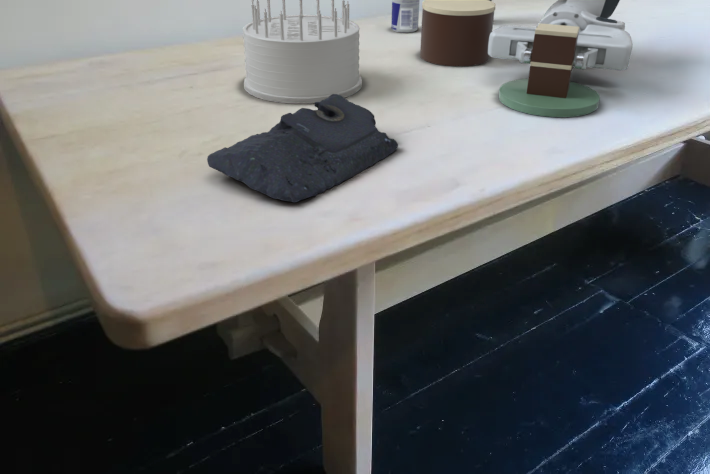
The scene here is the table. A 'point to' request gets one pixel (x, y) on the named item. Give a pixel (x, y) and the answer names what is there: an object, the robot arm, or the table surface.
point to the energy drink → (405, 15)
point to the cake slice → (552, 60)
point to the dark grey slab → (307, 151)
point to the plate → (549, 100)
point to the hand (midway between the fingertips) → (552, 60)
